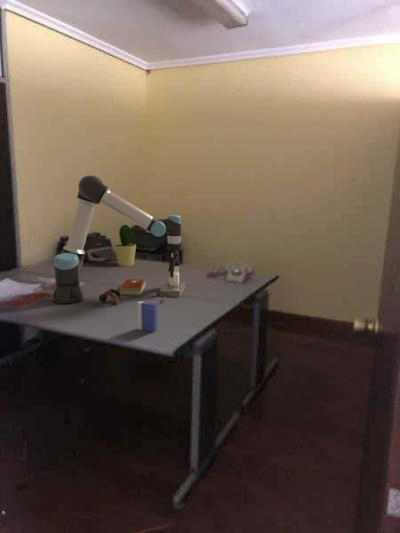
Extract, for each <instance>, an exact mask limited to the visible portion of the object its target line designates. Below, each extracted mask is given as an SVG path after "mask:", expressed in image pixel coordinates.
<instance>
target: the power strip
mask: <svg viewBox="0 0 400 533" xmlns="http://www.w3.org/2000/svg"><path fill="white" fill-rule="evenodd" d="M185 289H186V282H183V281H179V286H169V281H166V282H165V283H164V284H163V286H162V287H161V288H160V289H159V297H162V299H161V300H160V301H159V302H160V303H161V304H162V303H163V302H164V301H165V299H166V298H167V297H170V298H171V297H174V298H175V297H176V298H180V297H181V295H182V294H183V292H184V290H185Z"/></svg>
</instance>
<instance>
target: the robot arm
mask: <svg viewBox="0 0 400 533" xmlns="http://www.w3.org/2000/svg"><path fill="white" fill-rule="evenodd" d="M77 187H78V193H77V195H76V199H77V201H78V204H77V207H76V211H75V214H74V217H73V218H74V219H73V222H72V224H71V230H70V234H69V236H68V237H69V238H68V239H67V240H68V241H67V244H66V245H65V246H63V248H62V250H61V253H58V254H57V255H55V256H54V259H53V265H54V279H55V288H54V291H53V295H52V302H53V301H55V302H58V303H72V304H76V303H75V302H77V303H80V302H82V301H83V300H84V298H85V295H84V292H83V290H82V288H81V284H80V283H81V282H80V270H81V268H82V267H83V264H84V259H85V255H86V251H85V250H84V247H85V244H86V240H87V237H88V233H89V230H90V226H91V222H92V220H93V216H94V212H95V209H96V207H97V206H99V205H103V206H105V207H107V208H109V209H110V210H112V211H113V212H115V213H117V214H119V215H121V216H122V217H123V218H126V219H128V220H129V221H131V222H132V223H134V224H135V225H138V226H139V227H141V228H142V229H144V230H145V231H146V233H150V234H152V235H153V236H155V237H162V236H164V235H165V234H166V233H167V250H168V251H171V253H169V264H168V266H169V267H168V269H167V272H169V274H170V283H175V273H179V274H180V272H179V270H180V269H179V268H180V266H181V263H180V257H179V251H181V250H182V239H183V237H182V217H181V215H178V214H169V215H168V216H167V218H155V217H154V216H152V215H151V214H149V213H148V212H146V211H144V210H142V209H140V208H139V207H137V206H136V205H135V204H133V203H131V202H130V201H128V200H126V199H124V198H122V197H121V196H119V195H118V194H116V193H114V192H112V191H111V189H110V188H109V187H108V186H107V185H105V184H104V183H103V180H102V179H101V178H99V177H98V176H96V175H93V174H92V175H86V176H83V177H82V178H81V179H80V180H79V182H78V186H77ZM79 301H80V302H79ZM55 302H54V303H55ZM58 303H57V304H58Z"/></svg>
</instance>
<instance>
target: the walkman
mask: <svg viewBox="0 0 400 533" xmlns="http://www.w3.org/2000/svg"><path fill="white" fill-rule="evenodd" d="M136 313H137V315H136V316H137V330H139V331H140V330H141V331H146V332H152V333H155V332H156V331H158V302H155V301H151V302H150V301H145V300H144V301H143V300H140V301H138V302H137V312H136Z"/></svg>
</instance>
